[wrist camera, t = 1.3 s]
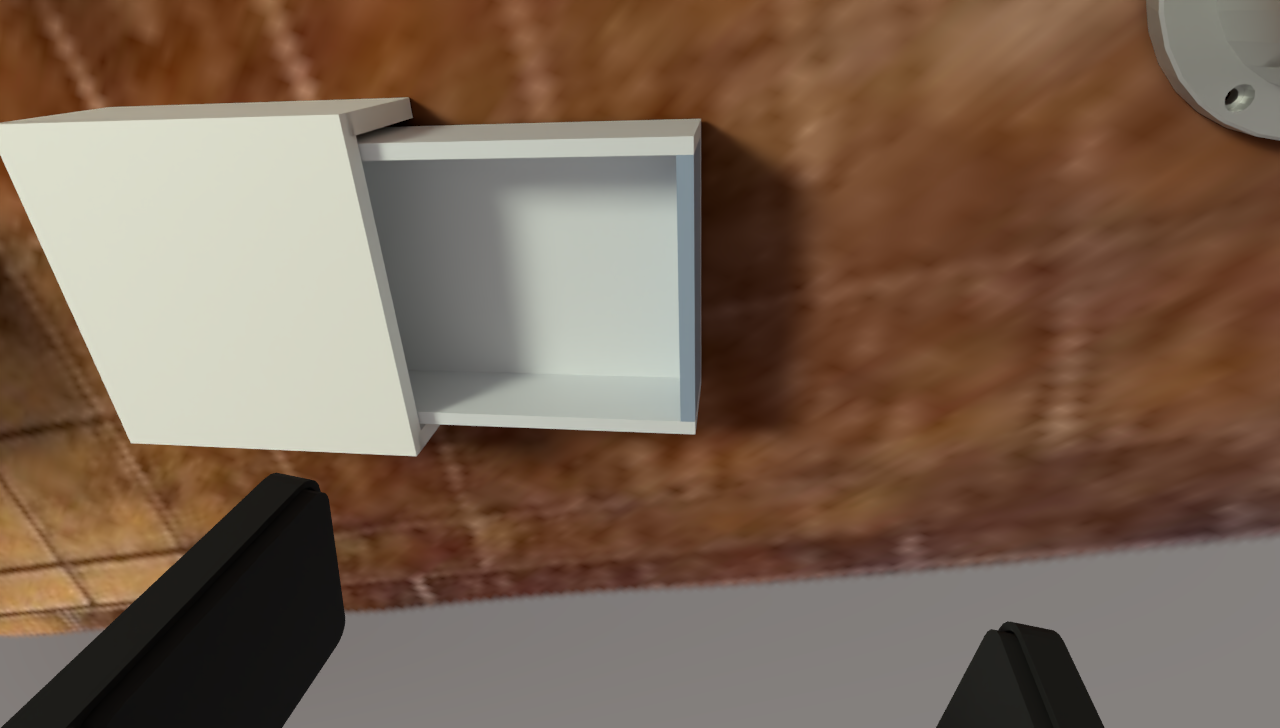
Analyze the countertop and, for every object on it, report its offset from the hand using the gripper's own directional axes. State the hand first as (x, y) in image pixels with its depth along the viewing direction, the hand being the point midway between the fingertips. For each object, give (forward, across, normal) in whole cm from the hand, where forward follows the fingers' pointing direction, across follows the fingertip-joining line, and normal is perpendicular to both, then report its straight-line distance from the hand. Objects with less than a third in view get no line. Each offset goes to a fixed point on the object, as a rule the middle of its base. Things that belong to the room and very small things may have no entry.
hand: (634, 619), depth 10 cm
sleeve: (+21, +19, +5) cm, 29 cm away
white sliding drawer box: (+21, +12, +4) cm, 25 cm away
